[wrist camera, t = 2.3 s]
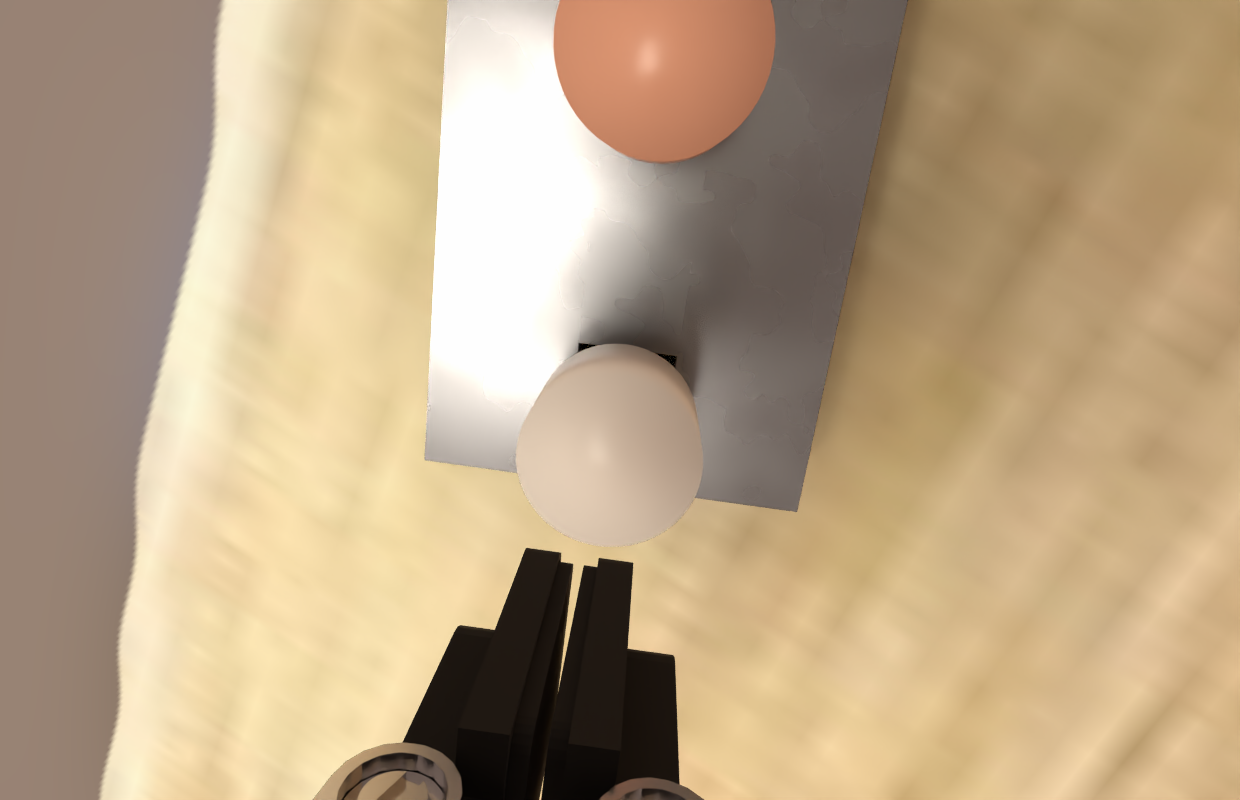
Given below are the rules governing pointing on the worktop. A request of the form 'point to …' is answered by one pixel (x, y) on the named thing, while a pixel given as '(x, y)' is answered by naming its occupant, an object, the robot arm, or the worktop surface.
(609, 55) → the middle knob
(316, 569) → the worktop surface
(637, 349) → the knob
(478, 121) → the knob panel
